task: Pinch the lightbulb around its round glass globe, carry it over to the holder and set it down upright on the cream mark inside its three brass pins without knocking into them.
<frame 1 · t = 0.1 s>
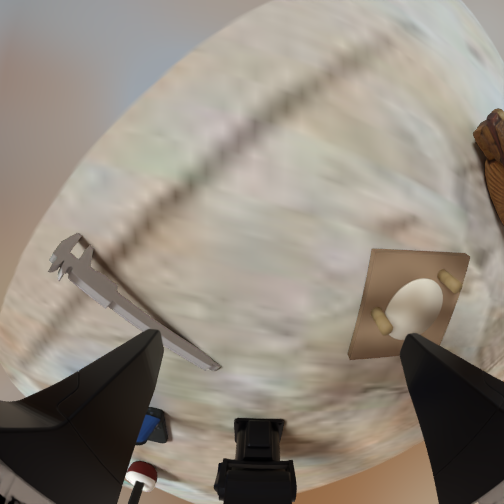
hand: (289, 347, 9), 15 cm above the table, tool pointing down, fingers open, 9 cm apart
wooden carving: (492, 183, 20), on the table
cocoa: (146, 464, 40), on the table
pin holder: (410, 305, 25), on the table
caliper: (147, 304, 26), on the table
handheld game console: (117, 403, 33), on the table
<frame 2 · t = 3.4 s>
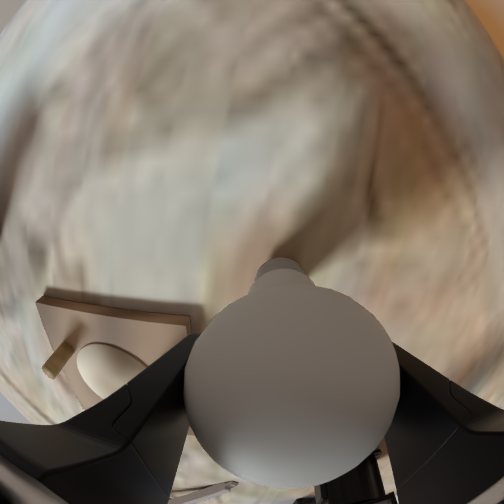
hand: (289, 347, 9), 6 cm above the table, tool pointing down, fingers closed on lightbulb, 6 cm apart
lightbulb: (279, 272, 15), on the table, touching gripper
pin holder: (122, 372, 18), on the table
caliper: (185, 487, 28), on the table
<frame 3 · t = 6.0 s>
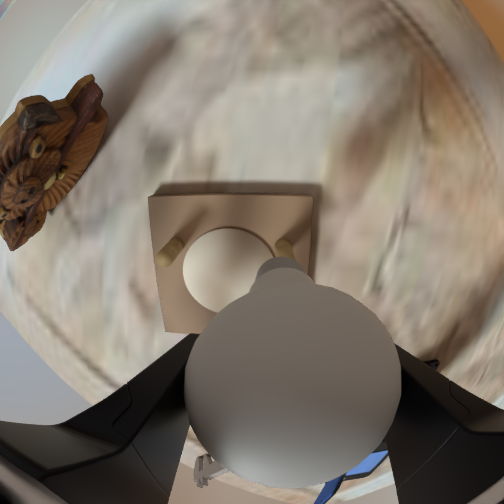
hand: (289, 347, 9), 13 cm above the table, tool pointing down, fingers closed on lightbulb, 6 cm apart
wooden carving: (73, 166, 20), on the table
lightbulb: (279, 271, 15), point 7 cm above the table, touching gripper
pin holder: (230, 268, 22), on the table
caliper: (245, 440, 32), on the table
handheld game console: (349, 458, 35), on the table
when the fingers open (7 cm above the table, at t = 8.5 s): lightbulb stays where it is, resting on pin holder.
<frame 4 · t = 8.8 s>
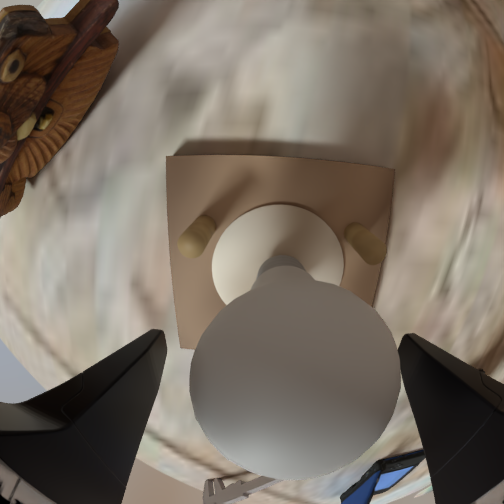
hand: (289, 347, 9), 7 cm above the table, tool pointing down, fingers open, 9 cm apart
wooden carving: (64, 122, 13), on the table
lightbulb: (280, 269, 15), point 1 cm above the table, touching pin holder
pin holder: (277, 263, 16), on the table
caliper: (265, 464, 26), on the table
handheld game console: (370, 476, 29), on the table
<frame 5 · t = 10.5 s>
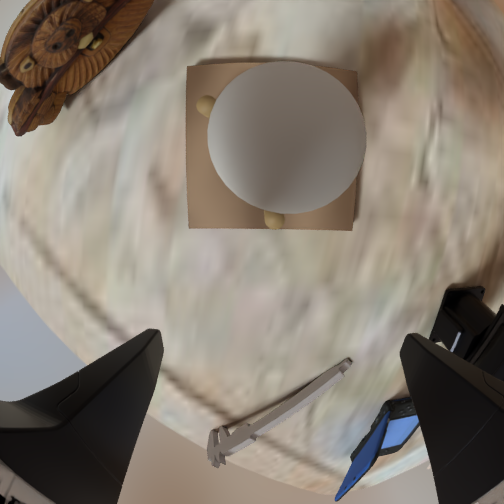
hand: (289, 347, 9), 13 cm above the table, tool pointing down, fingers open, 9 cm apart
wooden carving: (102, 57, 16), on the table
lightbulb: (274, 143, 18), point 1 cm above the table, touching pin holder
pin holder: (272, 144, 19), on the table
caliper: (272, 402, 28), on the table
handheld game console: (380, 427, 31), on the table
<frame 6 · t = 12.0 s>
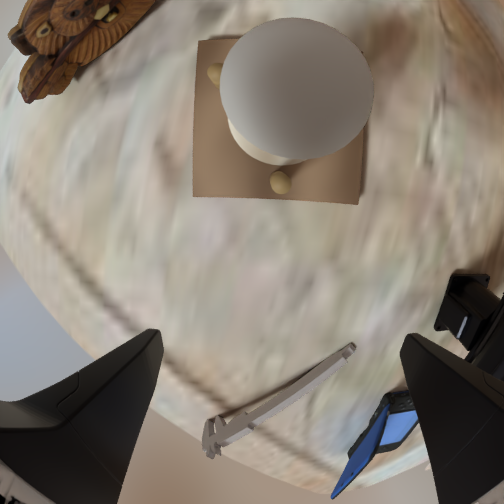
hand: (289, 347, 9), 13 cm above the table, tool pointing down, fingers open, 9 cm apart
wooden carving: (115, 33, 15), on the table
lightbulb: (282, 114, 17), point 1 cm above the table, touching pin holder
pin holder: (279, 116, 18), on the table
caliper: (271, 390, 28), on the table
handheld game console: (378, 423, 31), on the table
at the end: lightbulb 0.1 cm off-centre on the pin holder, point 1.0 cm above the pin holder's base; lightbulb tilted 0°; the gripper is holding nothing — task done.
